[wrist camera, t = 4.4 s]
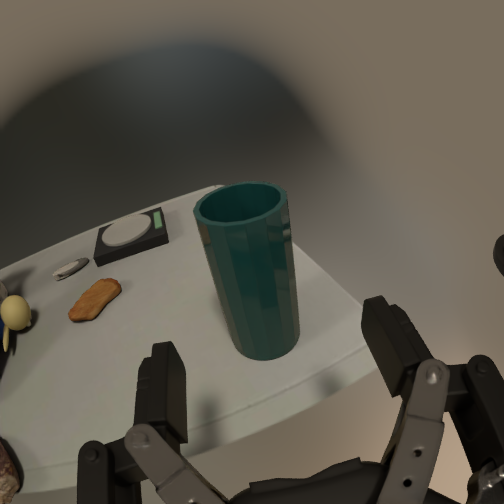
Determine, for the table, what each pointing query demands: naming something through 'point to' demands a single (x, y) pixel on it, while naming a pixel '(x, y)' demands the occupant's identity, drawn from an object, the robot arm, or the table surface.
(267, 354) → the cup
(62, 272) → the grey flat oval piece
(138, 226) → the scale
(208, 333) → the table surface
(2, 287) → the ink box
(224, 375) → the table surface
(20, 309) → the toy figure
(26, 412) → the table surface
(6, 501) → the fossil
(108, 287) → the brown flat oblong piece
